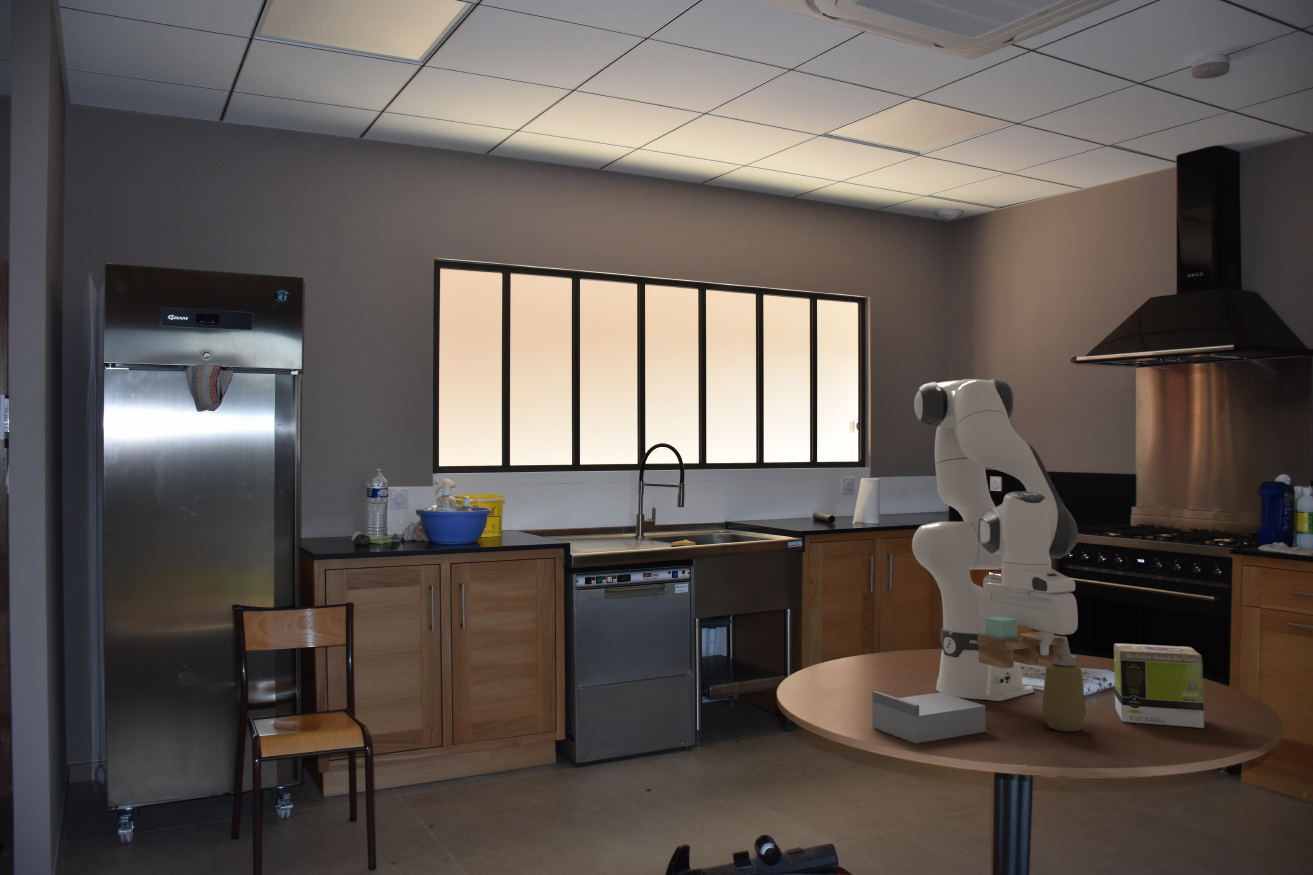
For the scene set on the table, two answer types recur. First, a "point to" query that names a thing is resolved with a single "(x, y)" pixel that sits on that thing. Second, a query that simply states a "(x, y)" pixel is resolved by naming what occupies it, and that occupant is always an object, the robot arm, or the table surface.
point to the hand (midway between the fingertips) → (1026, 650)
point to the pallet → (1016, 650)
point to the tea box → (1159, 685)
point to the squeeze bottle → (1064, 693)
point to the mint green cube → (1001, 627)
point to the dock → (927, 716)
